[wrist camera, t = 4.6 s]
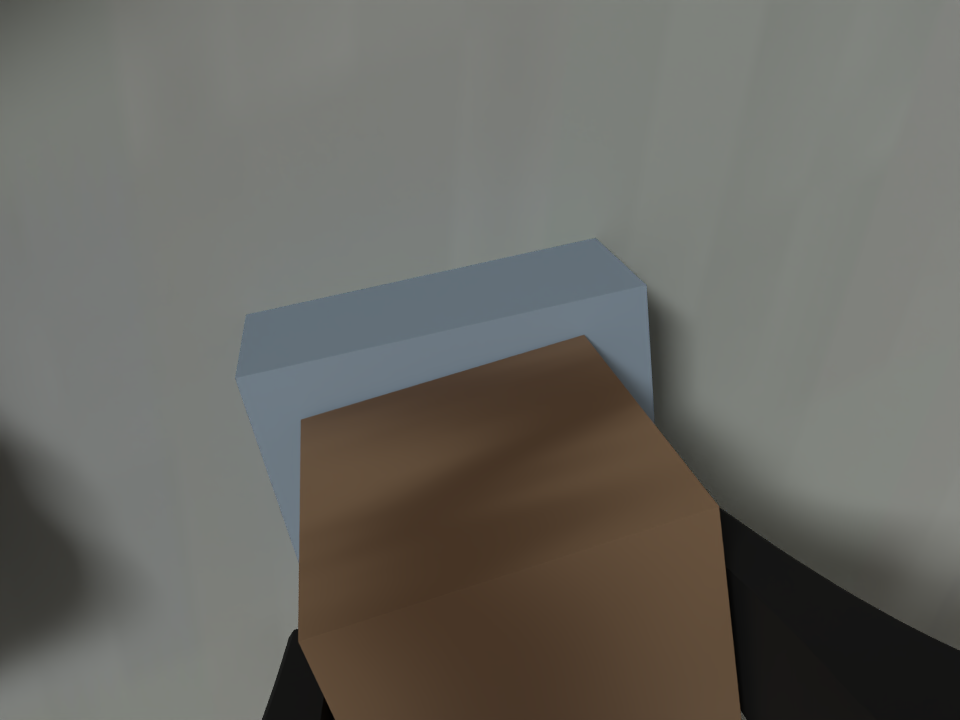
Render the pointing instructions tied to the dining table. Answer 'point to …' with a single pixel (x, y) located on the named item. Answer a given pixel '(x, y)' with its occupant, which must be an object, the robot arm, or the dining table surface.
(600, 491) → the walnut block
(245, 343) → the blue slab
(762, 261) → the dining table surface
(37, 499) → the dining table surface
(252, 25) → the dining table surface
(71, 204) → the dining table surface
